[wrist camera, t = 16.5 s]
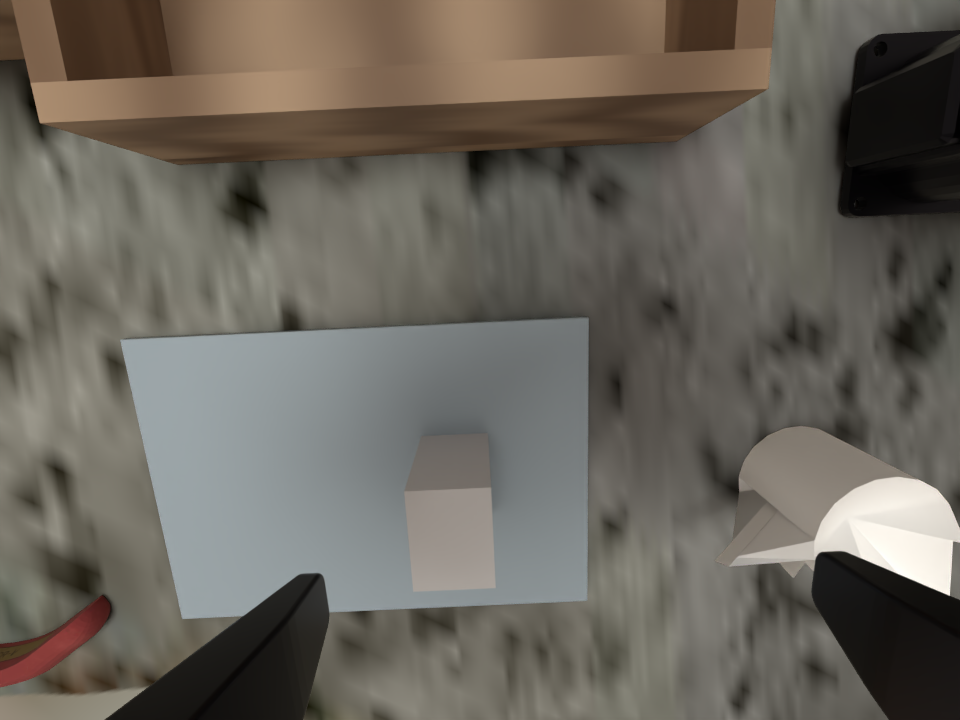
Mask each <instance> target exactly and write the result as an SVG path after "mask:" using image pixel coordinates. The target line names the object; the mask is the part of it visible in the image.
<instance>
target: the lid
mask: <svg viewBox="0 0 960 720" xmlns="http://www.w3.org/2000/svg"><path fill="white" fill-rule="evenodd" d="M120 341H121V345H122V350H123V354H124V359H125V363H126V368H127V372H128V377H129V381H130V386H131V390H132V395H133V399H134V404H135V408H136V413H137V417H138V421H139V426H140V430H141V435H142V439H143V444H144V448H145V453H146V457H147V462H148V466H149V471H150V475H151V480H152V484H153V489H154V493H155V498H156V502H157V507H158V511H159V516H160V520H161V525H162V529H163V534H164V538H165V543H166V547H167V552H168V556H169V561H170V565H171V570H172V574H173V579H174V583H175V588H176V592H177V597H178V601H179V606H180V610H181V615H182V619H187V618H209V617H232V616H244V615H245V614H246V613H248V612H249V611H250V610H252V609H253V608H254V607H256V606H257V605H258V604H260V603H261V602H262V601H264V600H265V599H266V598H268V597H269V596H270V595H272V594H273V593H274V592H276V591H277V590H279V589H280V588H281V587H283V586H284V585H285V584H287V583H288V582H289V581H291V580H292V579H293V578H295V577H296V576H297V575H299V574H303V573H320V574H322V575H323V577H324V580H325V586H326V592H327V599H328V605H329V612H345V611H368V610H390V609H413V608H435V607H458V606H481V605H503V604H526V603H548V602H571V601H587V561H588V348H589V318H588V317H587V316H583V317H562V318H541V319H520V320H499V321H478V322H457V323H437V324H416V325H395V326H374V327H353V328H332V329H312V330H291V331H270V332H249V333H228V334H207V335H186V336H166V337H145V338H126V339H122V340H120Z"/></svg>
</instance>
